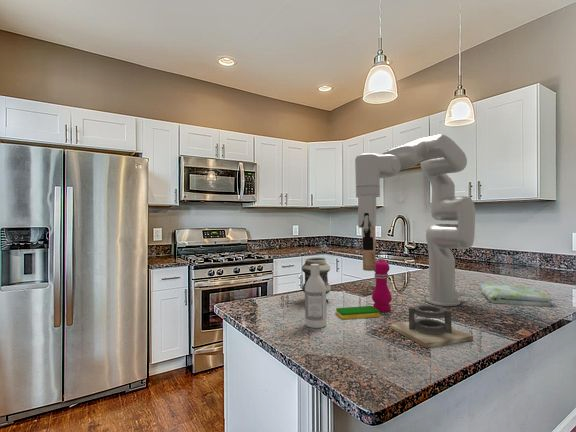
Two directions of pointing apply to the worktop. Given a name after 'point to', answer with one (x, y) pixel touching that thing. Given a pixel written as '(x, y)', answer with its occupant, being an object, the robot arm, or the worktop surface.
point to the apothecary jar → (323, 271)
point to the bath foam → (315, 299)
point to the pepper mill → (381, 287)
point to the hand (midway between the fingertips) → (368, 248)
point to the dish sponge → (357, 312)
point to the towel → (515, 295)
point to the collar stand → (431, 327)
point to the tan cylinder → (369, 254)
